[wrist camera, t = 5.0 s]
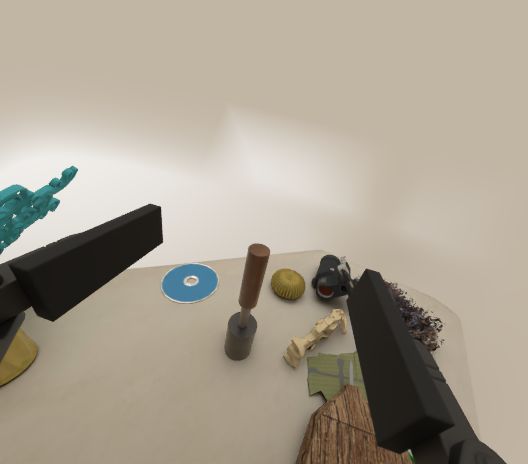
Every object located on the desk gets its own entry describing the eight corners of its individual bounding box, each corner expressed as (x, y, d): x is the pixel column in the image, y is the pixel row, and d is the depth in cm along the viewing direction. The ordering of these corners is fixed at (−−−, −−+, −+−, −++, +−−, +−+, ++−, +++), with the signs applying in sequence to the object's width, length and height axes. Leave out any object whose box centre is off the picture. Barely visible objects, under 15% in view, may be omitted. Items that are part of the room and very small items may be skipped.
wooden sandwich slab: (389, 375, 28) (411, 369, 25) (420, 582, 17) (468, 624, 14) (308, 346, 30) (318, 336, 26) (288, 519, 19) (301, 541, 15)
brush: (255, 343, 33) (283, 249, 23) (240, 366, 29) (266, 267, 20) (235, 329, 35) (253, 235, 25) (218, 349, 31) (233, 249, 21)
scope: (346, 243, 50) (311, 254, 55) (345, 270, 38) (300, 281, 43) (358, 269, 51) (323, 278, 56) (361, 303, 40) (316, 310, 44)
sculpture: (309, 297, 45) (289, 274, 50) (314, 285, 43) (293, 262, 49) (281, 307, 41) (263, 281, 46) (286, 294, 39) (267, 268, 45)
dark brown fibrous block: (445, 351, 39) (467, 332, 36) (401, 359, 36) (421, 339, 33) (376, 280, 56) (387, 263, 53) (342, 281, 52) (351, 263, 49)
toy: (312, 361, 27) (362, 315, 36) (290, 334, 29) (342, 297, 38) (299, 379, 30) (349, 332, 39) (281, 353, 32) (331, 315, 41)
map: (306, 336, 36) (305, 332, 36) (416, 341, 32) (417, 337, 32) (308, 408, 26) (307, 404, 26) (466, 428, 22) (468, 424, 22)
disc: (167, 312, 35) (155, 270, 43) (167, 312, 35) (155, 271, 43) (228, 291, 42) (207, 258, 49) (228, 291, 42) (207, 259, 50)
